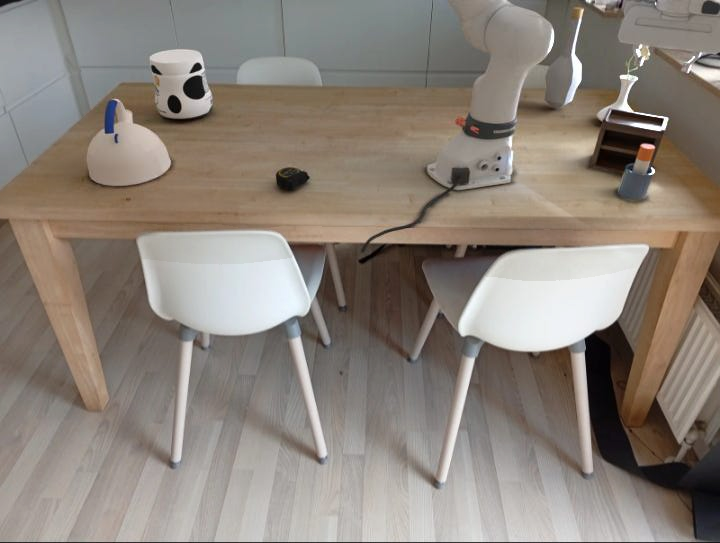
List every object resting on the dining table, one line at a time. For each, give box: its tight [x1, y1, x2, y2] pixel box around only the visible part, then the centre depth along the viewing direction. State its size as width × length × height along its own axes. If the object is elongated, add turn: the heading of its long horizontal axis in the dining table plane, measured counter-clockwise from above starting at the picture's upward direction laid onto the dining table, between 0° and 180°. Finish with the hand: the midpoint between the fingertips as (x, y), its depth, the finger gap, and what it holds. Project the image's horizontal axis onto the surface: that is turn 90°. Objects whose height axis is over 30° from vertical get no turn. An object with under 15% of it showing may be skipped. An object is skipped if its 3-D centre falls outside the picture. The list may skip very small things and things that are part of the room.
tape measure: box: [275, 166, 310, 191], centre depth 132 cm, size 7×7×4 cm
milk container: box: [148, 48, 214, 121], centre depth 166 cm, size 17×17×18 cm
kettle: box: [86, 98, 172, 187], centre depth 135 cm, size 20×21×18 cm
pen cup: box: [617, 163, 656, 201], centre depth 127 cm, size 6×6×7 cm
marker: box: [632, 144, 655, 174], centre depth 125 cm, size 3×3×12 cm
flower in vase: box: [596, 45, 651, 122], centre depth 159 cm, size 13×11×25 cm
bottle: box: [544, 6, 585, 110], centre depth 166 cm, size 11×11×30 cm
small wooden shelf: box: [589, 108, 669, 174], centre depth 137 cm, size 9×14×13 cm, turn 61°
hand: (660, 68), depth 117 cm, fingers open, 8 cm apart
